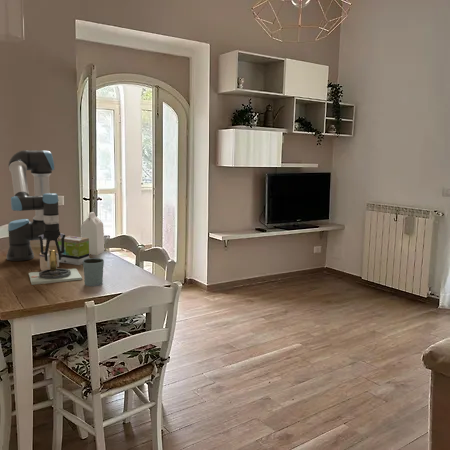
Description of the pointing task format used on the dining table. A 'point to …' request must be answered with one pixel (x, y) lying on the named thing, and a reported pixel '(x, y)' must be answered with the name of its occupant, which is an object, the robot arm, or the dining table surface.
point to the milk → (93, 234)
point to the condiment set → (44, 263)
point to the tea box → (74, 250)
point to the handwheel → (54, 268)
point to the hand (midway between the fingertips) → (53, 266)
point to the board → (39, 280)
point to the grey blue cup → (93, 271)
